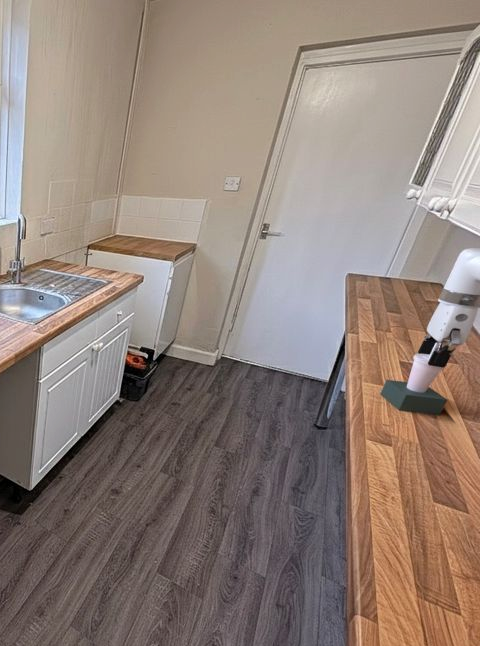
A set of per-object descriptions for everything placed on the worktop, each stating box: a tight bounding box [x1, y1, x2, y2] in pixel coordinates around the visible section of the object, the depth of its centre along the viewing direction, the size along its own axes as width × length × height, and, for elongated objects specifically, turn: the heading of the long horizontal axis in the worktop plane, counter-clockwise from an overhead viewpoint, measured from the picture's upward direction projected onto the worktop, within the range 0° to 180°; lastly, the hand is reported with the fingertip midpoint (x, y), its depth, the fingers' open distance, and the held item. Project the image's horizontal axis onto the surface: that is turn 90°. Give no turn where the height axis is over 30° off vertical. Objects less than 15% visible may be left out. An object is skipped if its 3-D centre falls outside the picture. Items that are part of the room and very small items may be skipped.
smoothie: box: [407, 343, 448, 393], centre depth 113 cm, size 6×6×14 cm
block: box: [379, 379, 448, 416], centre depth 117 cm, size 9×9×5 cm
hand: (430, 359), depth 112 cm, fingers open, 7 cm apart
